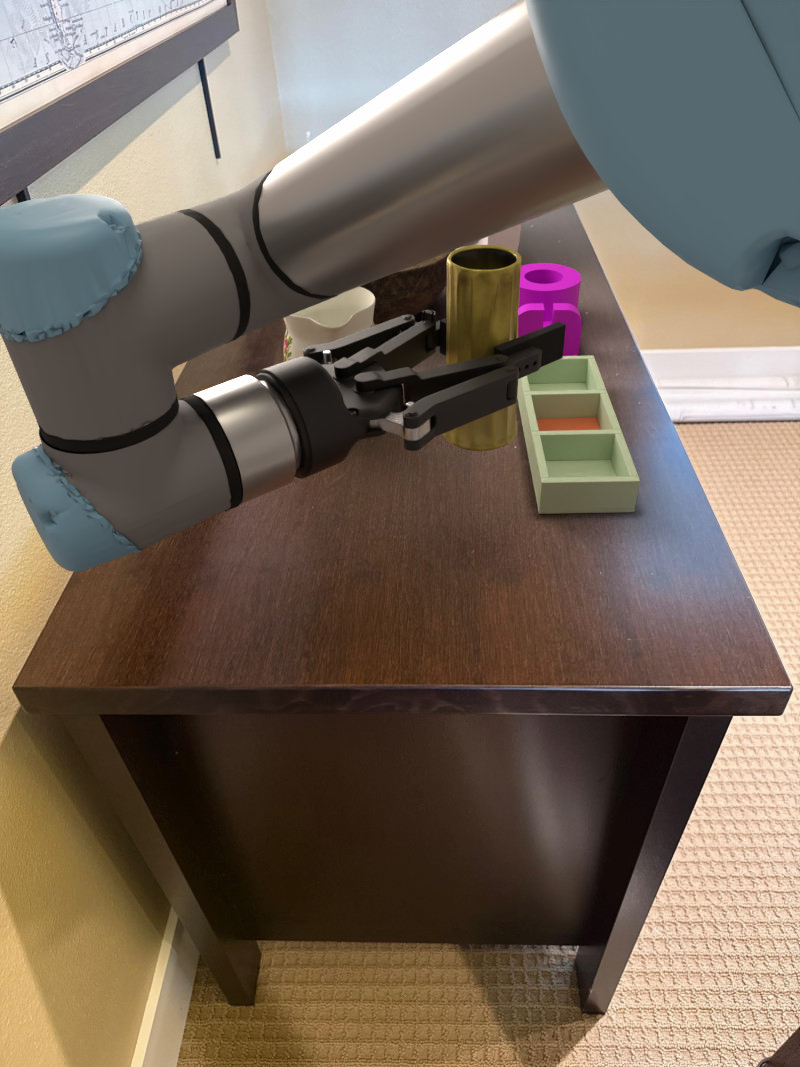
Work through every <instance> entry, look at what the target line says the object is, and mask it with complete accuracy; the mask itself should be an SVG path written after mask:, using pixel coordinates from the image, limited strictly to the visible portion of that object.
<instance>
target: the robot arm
mask: <svg viewBox="0 0 800 1067" xmlns="http://www.w3.org/2000/svg"><path fill="white" fill-rule="evenodd" d="M606 191H610V192H611V194H612V195H613V196H614V198H616V200H617V201H618V202H619V204H620V205H621V206H622V207H623V208H624V209H625V210H626V211H627V212H628V213H629V214H630V215H631V216H632V217H633V218H634V219H635V220H636V221H637V222H638V223H639V224H640V225H641V226H642V227H643V228H644V229H645V230H646V231H647V232H649V234H651V235H652V236H653V237H654V238H655V239H656V240H657V241H658V242H659V243H660V244H662V245H663V246H664V247H665V248H666V249H667V250H669V252H670V251H671V253H673V254H674V255H675V256H677V257H678V258H679V259H681V260H682V261H683V262H684V263H686V264H687V265H689V266H690V267H692V268H694V269H695V270H697V271H699V272H701V273H702V274H704V275H706V276H707V277H709V278H711V279H713V280H714V281H716V282H717V283H719V284H721V285H723V286H725V287H726V288H729V289H731V290H734V291H739V292H745V291H749V290H753V289H754V290H757V291H759V292H761V293H763V294H765V295H767V296H769V297H770V298H772V299H774V300H776V301H779V302H782V303H784V304H787V305H790V306H793V307H796V308H798V309H800V0H517V1H516V2H514V3H513V4H511V5H510V6H508V7H507V8H506V9H504V10H502V11H501V12H499V13H498V14H496V15H495V16H494V17H492V18H490V19H489V20H488V21H486V22H484V23H483V24H482V25H480V26H479V27H477V28H476V29H474V30H473V31H471V32H470V33H468V34H467V35H466V36H464V37H463V38H461V39H459V40H458V41H457V42H455V43H454V44H452V45H450V46H449V47H448V48H446V49H445V50H444V51H442V52H440V53H439V54H438V55H436V56H435V57H433V58H432V59H430V60H429V61H427V62H426V63H424V64H423V65H422V66H420V67H418V68H417V69H415V70H414V71H413V72H411V73H409V74H408V75H407V76H405V77H404V78H402V79H401V80H399V81H398V82H396V83H395V84H393V85H392V86H391V87H388V89H386V90H384V91H383V92H381V93H380V94H379V95H377V96H376V97H374V98H372V99H371V100H370V101H368V102H367V103H365V104H364V105H363V106H360V108H358V109H356V110H355V111H353V112H352V113H351V114H349V115H347V116H346V117H345V118H343V119H342V120H341V121H339V122H338V123H336V124H334V125H333V126H331V127H330V128H328V129H327V130H326V131H324V132H322V133H321V134H320V135H318V136H317V137H315V138H314V139H312V140H311V141H309V142H308V143H307V144H305V145H303V146H302V147H300V148H299V149H297V150H296V151H295V152H294V153H292V154H290V155H289V156H287V157H286V158H284V159H283V160H281V161H280V162H278V163H277V164H276V165H275V166H274V167H273V168H270V169H269V170H267V171H265V172H264V173H263V174H261V175H260V176H258V177H257V178H256V179H254V180H252V181H251V182H250V183H248V184H247V185H245V186H244V187H241V188H239V189H238V190H236V191H233V192H231V193H228V194H226V195H222V196H220V197H217V198H214V199H212V200H209V201H206V202H203V203H201V204H197V205H195V206H192V207H189V208H186V209H180V210H177V211H174V212H170V213H166V214H163V215H160V216H157V217H154V218H151V219H147V220H144V221H141V222H138V223H135V222H134V220H133V216H132V215H131V212H130V211H129V209H128V208H126V206H125V205H124V204H122V203H121V202H119V201H118V200H116V199H115V198H112V197H108V196H105V195H102V194H92V193H68V194H67V193H66V194H59V195H55V196H53V197H47V198H33V199H29V200H25V201H21V202H18V203H14V204H11V205H9V206H6V207H4V208H0V337H1V339H2V341H3V343H4V345H5V349H6V350H7V354H8V355H9V357H10V361H11V362H12V364H13V367H14V370H15V372H16V375H17V377H18V379H19V381H20V384H21V386H22V389H23V391H24V393H25V396H26V399H27V401H28V403H29V406H30V408H31V410H32V413H33V415H34V417H35V420H36V424H37V426H38V428H39V429H38V436H39V439H40V443H39V444H38V445H36V446H35V445H34V446H33V447H32V449H30V450H28V451H26V452H24V453H21V454H19V455H18V456H16V457H15V459H14V460H13V461H12V464H11V468H10V470H11V475H12V477H13V479H14V482H15V485H16V489H17V491H18V493H19V495H20V498H21V501H22V503H23V505H24V507H25V509H26V511H27V514H28V515H29V517H30V520H31V521H32V524H33V525H34V528H35V529H36V531H37V533H38V535H39V537H40V539H41V541H42V543H43V544H44V546H45V548H46V550H47V552H48V553H49V555H50V556H51V558H52V559H53V560H54V562H55V563H56V564H57V565H58V566H59V567H60V568H62V569H64V570H65V571H68V572H73V573H79V572H80V573H81V572H84V571H85V572H86V571H88V570H90V569H93V568H96V567H99V566H101V565H103V564H104V565H105V564H107V563H109V562H112V561H115V560H117V559H120V558H123V557H126V556H129V555H131V554H135V555H137V554H139V553H142V552H143V551H144V550H145V549H147V548H149V547H151V546H154V545H156V544H158V543H160V542H162V541H165V539H168V538H171V537H172V536H174V535H176V534H178V533H181V532H183V531H185V530H187V529H188V528H191V527H193V526H195V525H197V524H200V523H201V522H203V521H206V520H207V519H210V518H212V517H214V516H216V515H219V514H220V513H222V512H225V513H226V512H228V511H230V510H233V509H235V508H238V507H239V506H240V505H243V504H245V503H248V502H250V501H253V500H255V499H257V498H259V497H262V496H264V495H267V494H270V493H271V492H274V491H276V490H279V489H281V488H284V487H285V486H288V485H290V484H291V483H293V482H294V480H295V478H297V479H301V480H303V479H307V478H308V477H310V476H313V475H315V474H318V473H320V472H323V471H324V470H327V469H329V468H331V467H334V466H336V465H338V464H340V463H342V462H343V461H345V460H346V459H347V457H348V456H349V454H350V452H351V451H352V449H353V447H354V446H355V445H356V444H357V442H359V441H361V440H364V439H370V438H378V437H381V436H384V435H386V434H387V433H389V434H391V435H392V434H393V435H395V436H398V437H401V438H402V439H403V448H404V450H406V451H409V452H417V451H419V450H422V448H423V447H425V446H426V445H427V444H428V443H429V442H431V441H432V440H433V439H435V438H436V437H438V436H440V435H443V433H446V432H448V431H450V430H453V429H455V428H458V427H460V426H463V425H465V424H467V423H470V422H472V421H475V420H477V419H479V418H482V417H484V416H487V415H489V414H492V413H494V412H496V411H499V410H501V409H504V408H506V407H509V406H511V405H513V404H515V403H516V402H517V403H518V399H517V394H518V379H520V378H522V377H525V376H527V375H529V374H531V373H534V372H536V371H538V370H539V369H540V368H541V367H543V366H545V365H547V364H550V363H552V362H554V361H557V360H559V359H561V358H563V350H564V340H565V329H566V324H563V323H561V322H556V323H554V324H551V325H549V326H546V327H544V328H541V329H538V330H536V331H533V332H531V333H528V334H526V335H523V336H521V337H518V338H516V339H513V340H511V341H508V342H506V343H503V344H501V345H498V346H496V347H494V355H491V356H487V357H482V358H477V359H473V360H468V361H464V362H459V363H454V364H450V365H446V364H444V365H440V366H437V367H432V368H428V369H422V370H418V371H415V370H414V369H413V368H415V367H416V366H418V365H419V364H421V363H422V362H424V361H426V360H428V359H429V358H430V357H432V356H433V355H435V354H436V353H437V348H438V347H439V354H442V355H443V356H445V357H446V334H447V317H445V318H442V319H439V320H437V312H436V311H435V310H433V309H424V310H423V311H421V321H419V322H418V321H416V315H410V314H407V315H402V316H400V317H397V318H394V319H392V320H389V321H386V322H384V323H381V324H375V326H373V327H370V328H368V329H365V330H362V331H360V332H357V333H354V334H352V335H349V336H346V337H343V338H341V339H338V340H335V341H333V342H329V343H324V344H319V345H313V346H308V347H305V348H304V349H303V356H304V357H303V356H302V357H296V358H294V359H291V360H288V361H282V362H280V363H277V364H273V365H271V366H268V367H265V368H262V369H260V370H258V371H257V372H256V374H254V376H252V375H250V374H244V375H242V376H239V377H236V378H232V379H230V380H227V381H225V382H223V383H220V384H217V385H214V386H212V387H209V388H206V389H204V390H201V391H198V392H196V393H193V394H189V395H187V396H183V397H180V398H178V393H177V389H176V384H175V379H174V374H173V373H174V372H173V370H174V369H175V368H176V367H178V366H180V365H183V364H185V363H187V362H189V361H191V360H194V359H196V358H198V357H200V356H202V355H204V354H206V353H208V352H210V351H213V350H215V349H217V348H219V347H221V346H224V345H227V344H229V343H231V342H234V341H236V340H238V339H239V338H240V337H243V336H245V335H247V334H250V333H252V332H254V331H256V330H260V329H261V328H264V327H266V326H268V325H270V324H273V323H275V322H278V321H280V320H283V318H285V317H287V316H289V315H292V314H294V313H296V312H299V311H301V310H304V309H306V308H309V307H311V306H314V305H316V304H319V303H321V302H324V301H326V300H329V299H331V298H334V297H336V296H338V295H339V294H342V293H344V292H347V291H349V290H352V289H354V288H357V287H359V286H362V285H365V284H367V283H370V282H372V281H375V280H377V279H380V278H383V277H385V276H388V275H390V274H393V273H395V272H398V271H401V270H403V269H406V268H408V267H411V266H413V265H416V264H419V263H421V262H424V261H426V260H429V259H431V258H434V257H437V256H439V255H442V254H444V253H447V252H449V251H452V250H455V249H457V248H460V247H462V246H465V245H467V244H470V243H473V242H475V241H478V240H480V239H483V238H486V237H488V236H491V235H493V234H496V233H498V232H501V231H504V230H506V229H509V228H511V227H514V226H516V225H519V224H521V225H522V224H524V223H527V222H529V221H532V220H534V219H537V218H539V217H542V216H545V215H547V214H550V213H552V212H555V211H558V210H560V209H562V208H565V207H568V206H570V205H574V204H576V203H578V202H581V201H583V200H585V199H586V200H587V199H588V198H591V197H593V196H595V195H596V196H597V195H599V194H601V193H604V192H606ZM398 332H400V333H399V334H398ZM517 403H516V404H517Z"/></svg>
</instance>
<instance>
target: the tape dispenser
mask: <svg viewBox="0 0 800 1067" xmlns="http://www.w3.org/2000/svg"><path fill="white" fill-rule="evenodd" d="M581 282H582V275H581V273H580V272H578V271H577V270H576V269H574V268H573V267H570V266H567V265H564V264H563V265H562V264H558V263H549V262H548V263H547V262H537V263H536V262H535V263H527V264H521V274H520V295H519V310H518V337H521V336H523V335H526V334H528V333H531V332H533V331H536V330H538V329H541V328H544V327H546V326H549V325H551V324H554V323H556V322H561V323H563V324H566V329H565V340H564V350H563V356H579V355H580V343H581V335H582V327H583V321H582V317H581V313H580V311H579V301H580V300H579V299H580V291H581Z"/></svg>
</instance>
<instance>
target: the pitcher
mask: <svg viewBox="0 0 800 1067" xmlns="http://www.w3.org/2000/svg"><path fill="white" fill-rule="evenodd" d="M374 306H375V296H374V295H373V294H372V292H370V291H369V290H367V289H365V288H362V287H357V288H354V289H352V290H349V291H347V292H344V293H342V294H339V295H338V296H336V297H334V298H331V299H329V300H326V301H324V302H321V303H319V304H316V305H314V306H311V307H309V308H306V309H304V310H301V311H299V312H296V313H294V314H292V315H289V316H287V317H285V318H282V320H283V321H284V325H285V328H286V329H285V334H284V339H283V362H285V361H288V360H291V359H294V358H296V357H302V356H303V349H304V348H305V347H308V346H313V345H319V344H324V343H329V342H333V341H335V340H338V339H341V338H343V337H346V336H349V335H352V334H354V333H357V332H360V331H362V330H365V329H368V328H370V327H373V326H376V324H374V322H373V314H374ZM303 357H304V356H303Z"/></svg>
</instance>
